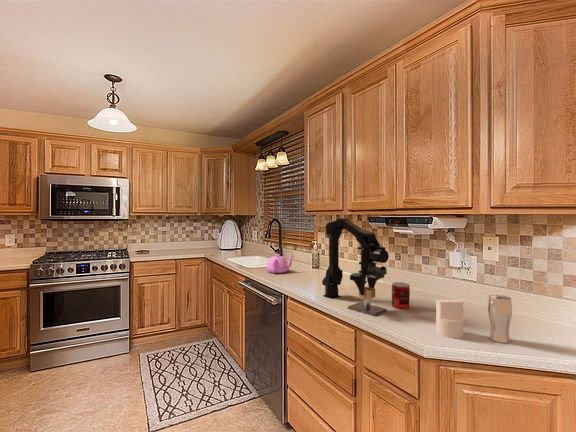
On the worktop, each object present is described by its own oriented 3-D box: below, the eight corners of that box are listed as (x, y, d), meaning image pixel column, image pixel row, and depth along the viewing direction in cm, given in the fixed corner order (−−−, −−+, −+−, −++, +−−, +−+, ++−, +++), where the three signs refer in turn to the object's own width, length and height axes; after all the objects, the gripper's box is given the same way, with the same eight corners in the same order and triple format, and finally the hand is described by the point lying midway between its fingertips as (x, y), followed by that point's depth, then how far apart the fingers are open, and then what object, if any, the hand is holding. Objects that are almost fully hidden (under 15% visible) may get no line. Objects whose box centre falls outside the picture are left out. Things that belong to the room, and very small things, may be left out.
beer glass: (514, 345, 102) (515, 300, 102) (490, 342, 105) (490, 298, 105) (508, 337, 109) (508, 295, 109) (485, 334, 111) (485, 293, 111)
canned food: (395, 303, 150) (395, 281, 150) (411, 306, 145) (411, 283, 145) (389, 307, 144) (389, 284, 144) (406, 310, 139) (406, 286, 139)
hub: (356, 295, 140) (356, 288, 140) (364, 293, 145) (364, 286, 145) (369, 299, 135) (369, 291, 135) (377, 296, 139) (377, 288, 139)
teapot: (291, 275, 219) (291, 256, 219) (262, 274, 224) (262, 255, 224) (297, 270, 241) (297, 253, 241) (271, 269, 246) (271, 252, 246)
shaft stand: (347, 308, 141) (347, 291, 141) (360, 304, 148) (360, 288, 148) (374, 316, 131) (374, 297, 131) (386, 311, 138) (386, 293, 138)
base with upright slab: (454, 328, 117) (454, 297, 117) (469, 338, 108) (469, 304, 108) (431, 329, 117) (431, 297, 117) (444, 338, 108) (444, 304, 108)
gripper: (371, 264, 127) (370, 301, 127) (393, 260, 140) (393, 293, 140) (349, 261, 136) (349, 296, 136) (372, 257, 148) (372, 289, 148)
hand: (366, 293), depth 140 cm, fingers closed on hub, 7 cm apart
